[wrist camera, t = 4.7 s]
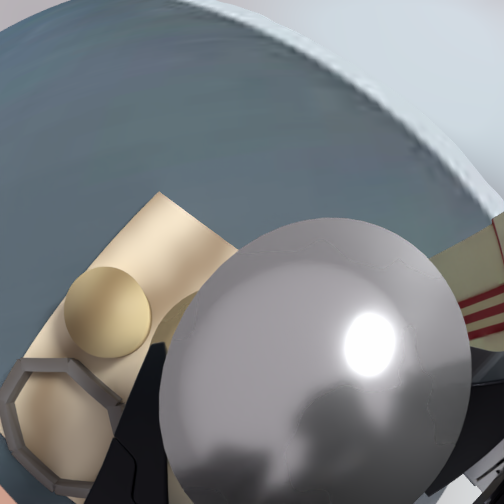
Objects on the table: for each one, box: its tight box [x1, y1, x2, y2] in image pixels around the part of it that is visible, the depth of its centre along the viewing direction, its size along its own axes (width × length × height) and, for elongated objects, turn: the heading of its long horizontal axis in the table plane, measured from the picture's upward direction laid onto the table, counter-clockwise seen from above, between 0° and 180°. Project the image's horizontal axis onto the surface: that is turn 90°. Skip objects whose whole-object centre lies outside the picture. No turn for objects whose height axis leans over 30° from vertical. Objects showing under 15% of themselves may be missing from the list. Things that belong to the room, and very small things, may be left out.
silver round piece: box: [149, 218, 472, 504], centre depth 8 cm, size 8×8×11 cm
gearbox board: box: [0, 192, 238, 504], centre depth 16 cm, size 23×26×4 cm
